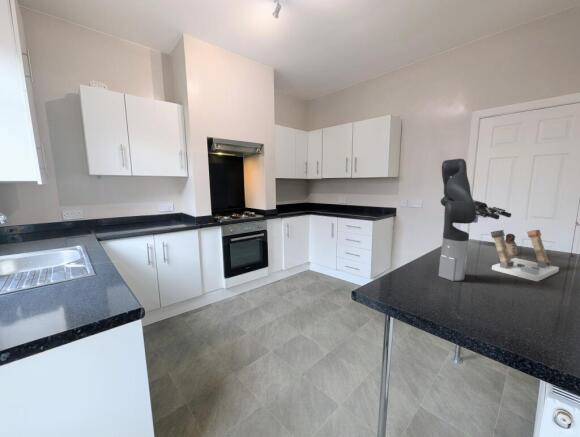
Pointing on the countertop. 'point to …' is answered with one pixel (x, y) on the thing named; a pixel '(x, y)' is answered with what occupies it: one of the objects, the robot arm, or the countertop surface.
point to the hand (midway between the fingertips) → (504, 216)
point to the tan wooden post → (501, 246)
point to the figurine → (511, 244)
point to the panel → (526, 275)
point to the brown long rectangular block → (538, 246)
